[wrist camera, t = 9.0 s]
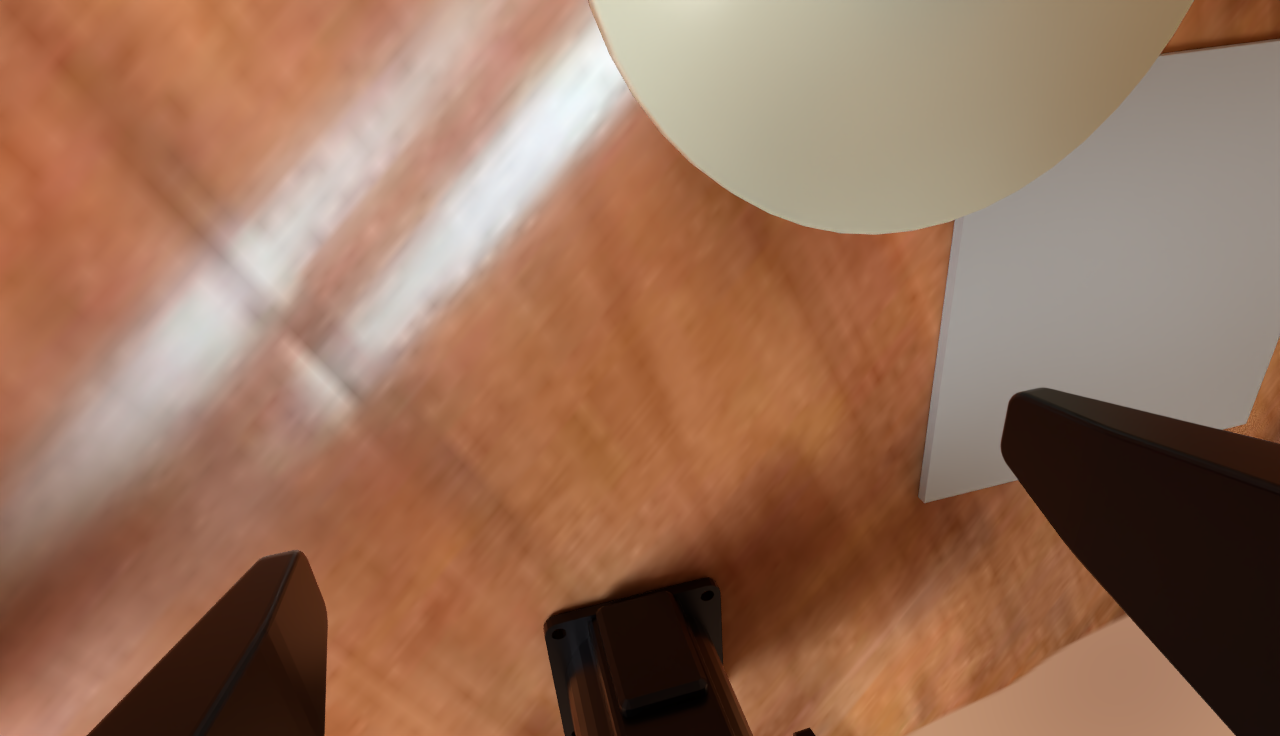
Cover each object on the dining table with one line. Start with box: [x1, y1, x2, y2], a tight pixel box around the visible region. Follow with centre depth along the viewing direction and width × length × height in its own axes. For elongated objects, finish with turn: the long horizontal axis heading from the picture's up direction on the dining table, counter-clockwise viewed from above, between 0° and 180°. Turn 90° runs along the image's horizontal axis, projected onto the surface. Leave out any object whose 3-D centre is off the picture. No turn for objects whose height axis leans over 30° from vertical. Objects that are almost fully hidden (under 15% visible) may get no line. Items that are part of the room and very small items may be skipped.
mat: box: [918, 39, 1280, 503], centre depth 25 cm, size 15×15×1 cm
